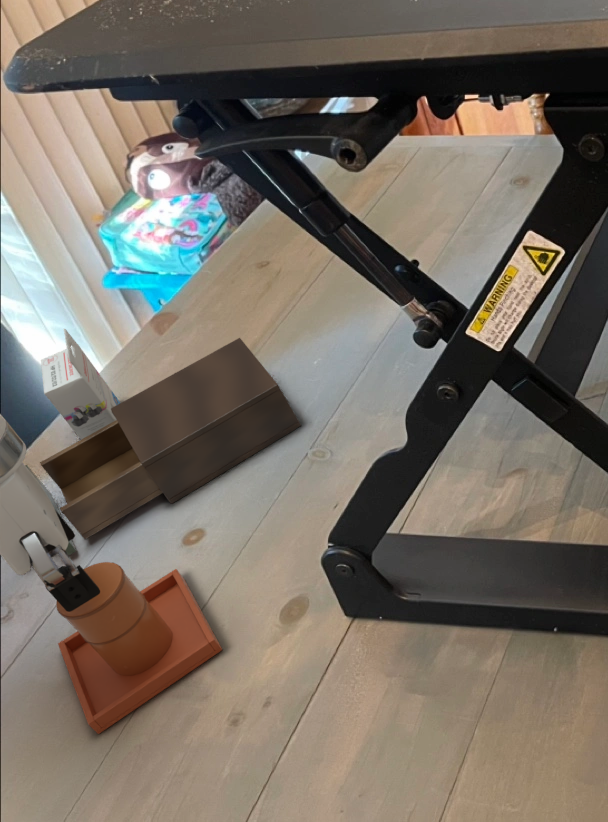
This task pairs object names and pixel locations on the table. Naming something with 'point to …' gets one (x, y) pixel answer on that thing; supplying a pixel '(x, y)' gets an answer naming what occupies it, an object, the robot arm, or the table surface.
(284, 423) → the cabinet
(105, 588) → the lidded orange canister
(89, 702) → the tray
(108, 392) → the ink box
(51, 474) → the drawer
